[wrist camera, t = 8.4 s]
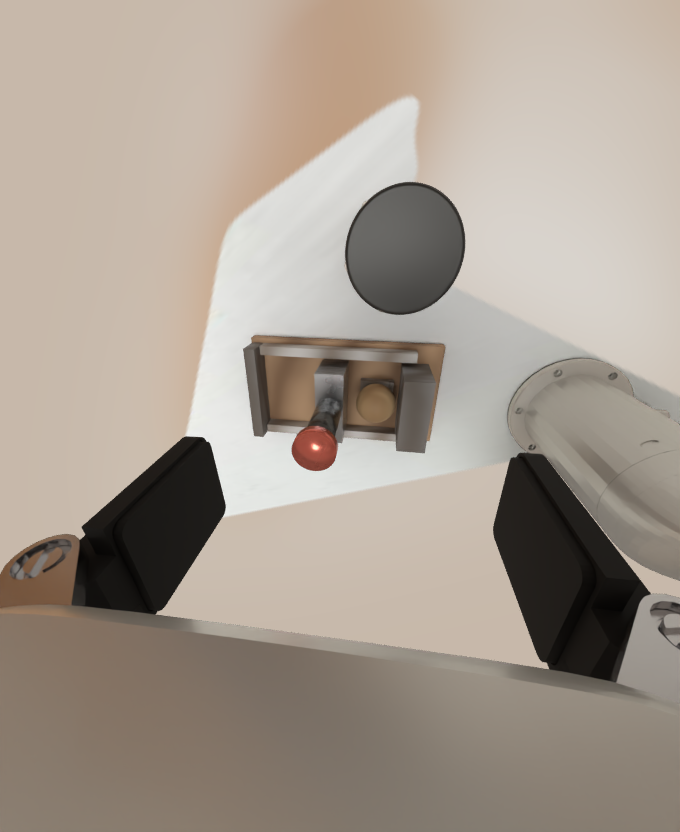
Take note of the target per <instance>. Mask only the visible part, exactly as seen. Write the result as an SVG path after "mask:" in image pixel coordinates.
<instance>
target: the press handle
mask: <svg viewBox="0 0 680 832" xmlns="http://www.w3.org/2000/svg"><path fill="white" fill-rule="evenodd" d="M348 369H349V361H347V360H329V359H323V360H322V362H321V363H320V365H319V367H318V368H317V370H316V372H315V374H314V378H315V410H314V412H313V415H312V417H311V419H310V421H309V423H308V426H307V427H306V428H304V429H302V430H301V431H300V432H299V433H298V434H297V436H296V438H295V440H294V442H293V445H292V455H293V457H294V459H295V461H296V462H297V463H298V464H299V465H300V466H302V467H303V468H306V469H308V470H312V471H321V470H325V469H327V468H329V467H330V466H331V465H332V464H333V463H334V461H335V458H336V454H337V450H338V443H342V441H343V437H344V432H345V428H346V424H347V402H348Z"/></svg>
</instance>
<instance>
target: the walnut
mask: <svg viewBox="0 0 680 832" xmlns="http://www.w3.org/2000/svg"><path fill="white" fill-rule="evenodd" d="M356 407H357V411H358V413H359V414H360V416H361V417H362V418H363V419H365V420H366V421H369V422H372V423H379V422H383V421H385V420H387V419H388V418H389V417H390V416H391V415H392V414H393V412H394V409H395V397H394V395H393V393H392V391H391V390H390V389H389V388H388V387H386V386H384V385H382V384H370V385H368V386H366V387H364V388H363V389H362V390H361V391H360V392H359V394H358V396H357V399H356Z"/></svg>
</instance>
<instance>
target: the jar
mask: <svg viewBox="0 0 680 832" xmlns="http://www.w3.org/2000/svg"><path fill="white" fill-rule="evenodd" d="M464 252H465V233H464V227H463V223H462V220H461V217H460V215H459V213H458V211H457V209H456V207H455V206H454V204H453V203H452V202H451V201H450V199H449V198H448V197H447V196H445V195H444V194H443V193H442V192H440V191H439V190H437V189H436V188H434V187H432V186H429V185H426V184H423V183H417V182H404V183H398V184H394V185H392V186H389V187H387V188H385V189H383V190H381V191H379V192H378V193H376V194H375V195H374V196H372V197H371V198H370V199H369V200H368V201H365V202H364V203H363V205H362V208H361V209H360V210H359V212H358V213H357V215H356V216H355V218H354V220H353V222H352V224H351V227H350V230H349V233H348V236H347V241H346V248H345V261H346V262H345V265H344V267H345V269H346V271H347V272H348V276H349V279H350V281H351V283H352V285H353V287H354V289H355V290H356V292H357V293H358V295H359V296H360V297H361V298H362V299H363V300H364V301H365V302H366V303H367V304H369V305H370V306H372V307H373V308H375V309H377V310H379V311H380V312H385V313H389V314H395V315H404V314H411V313H415V312H418V311H421V310H423V309H425V308H427V307H429V306H431V305H432V304H434V303H435V302H437V301H438V300H439V299H440V298H441V297H442V296H443V295H444V294H445V293H446V292H447V291H448V290H449V288H450V287H451V286H452V284H453V283H454V281H455V279H456V277H457V275H458V273H459V271H460V268H461V265H462V262H463V258H464Z"/></svg>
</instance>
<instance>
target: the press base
mask: <svg viewBox="0 0 680 832" xmlns="http://www.w3.org/2000/svg"><path fill="white" fill-rule="evenodd" d="M251 340H252V343H251V344H250V345H248V346H247V347H246V348H244V349H243V351H244V359H245V367H246V375H247V383H248V391H249V399H250V407H251V415H252V423H253V431H254V436H260V437H264V435H265V434H266V432H267V431H271V432H283V433H296V434H298V433H299V432H300V431H301V430H302V429H304V428H306V427H307V426H308V423H309V421H310V419H311V417H312V415H313V412H314V410H315V378H314V374H315V372H316V370H317V368H318V367H319V365H320V363H321V362H322V360H323V359H329V360H347V361H349V369H348V402H347V424H346V428H345V432H344V437H346V438H358V439H371V440H383V441H396V451H404V452H416V453H425V448H426V442H427V441H429V440H430V434H431V428H432V423H433V417H434V411H435V405H436V399H437V393H438V387H439V382H440V376H441V370H442V364H443V358H444V352H445V346H444V344H423V343H402V342H382V341H361V340H340V339H319V338H298V337H277V336H256V335H255V336H253V337H252V338H251ZM370 384H382V385H384V386H386V387H388V388H389V389H390V390H391V391H392V393H393V395H394V397H395V409H394V412H393V414H392V415H391V416H390V417H389V418H388V419H387V420H385V421H383V422H379V423H372V422H369V421H366V420H365V419H363V418H362V417H361V416H360V414H359V413H358V411H357V407H356V399H357V396H358V394H359V392H360V391H361V390H362V389H363V388H364V387H366V386H368V385H370Z"/></svg>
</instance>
